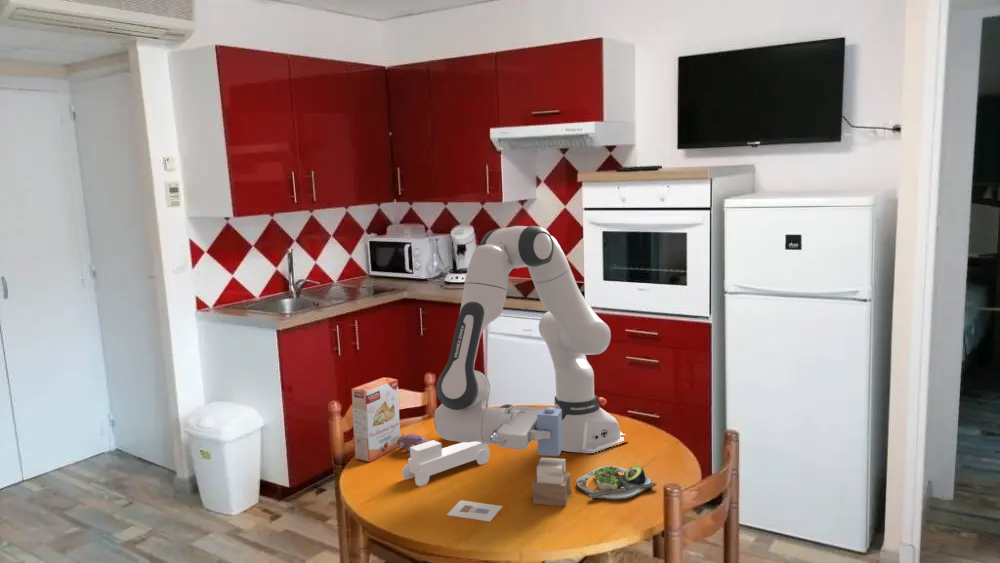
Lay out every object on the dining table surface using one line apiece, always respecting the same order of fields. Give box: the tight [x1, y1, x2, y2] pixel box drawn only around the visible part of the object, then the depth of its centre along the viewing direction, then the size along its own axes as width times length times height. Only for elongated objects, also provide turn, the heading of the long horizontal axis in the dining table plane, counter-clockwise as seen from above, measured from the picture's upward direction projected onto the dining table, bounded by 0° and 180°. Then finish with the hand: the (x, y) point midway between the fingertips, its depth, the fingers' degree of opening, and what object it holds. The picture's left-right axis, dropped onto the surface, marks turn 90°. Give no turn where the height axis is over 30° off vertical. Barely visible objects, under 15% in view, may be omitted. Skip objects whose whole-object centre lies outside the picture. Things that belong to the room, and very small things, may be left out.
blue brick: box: [537, 406, 563, 457], centre depth 181 cm, size 5×5×11 cm
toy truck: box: [401, 439, 491, 487], centre depth 202 cm, size 25×7×9 cm, turn 130°
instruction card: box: [446, 500, 503, 523], centre depth 178 cm, size 8×11×1 cm
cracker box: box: [351, 376, 401, 463], centre depth 216 cm, size 14×6×21 cm, turn 148°
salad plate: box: [575, 465, 658, 500], centre depth 188 cm, size 19×18×5 cm
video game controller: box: [397, 433, 430, 453], centre depth 217 cm, size 10×5×7 cm, turn 69°
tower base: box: [531, 457, 572, 507], centre depth 183 cm, size 8×8×9 cm
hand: (553, 430), depth 181 cm, fingers closed on blue brick, 5 cm apart
